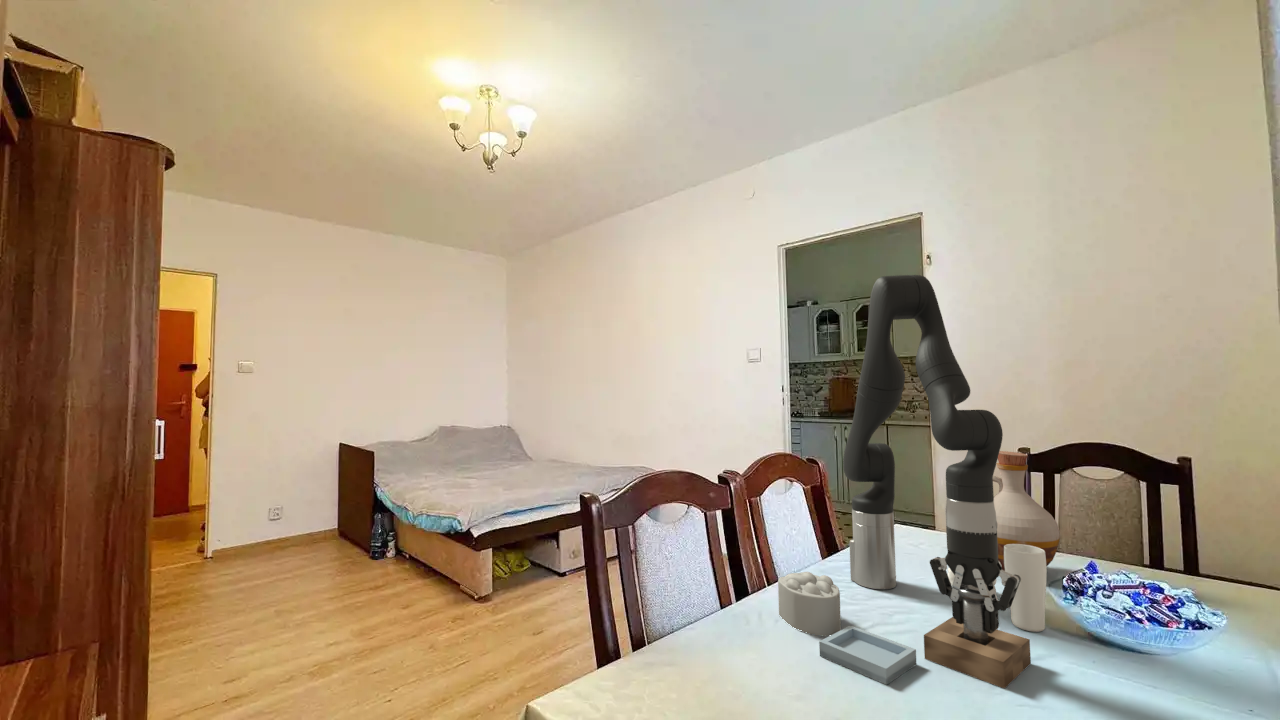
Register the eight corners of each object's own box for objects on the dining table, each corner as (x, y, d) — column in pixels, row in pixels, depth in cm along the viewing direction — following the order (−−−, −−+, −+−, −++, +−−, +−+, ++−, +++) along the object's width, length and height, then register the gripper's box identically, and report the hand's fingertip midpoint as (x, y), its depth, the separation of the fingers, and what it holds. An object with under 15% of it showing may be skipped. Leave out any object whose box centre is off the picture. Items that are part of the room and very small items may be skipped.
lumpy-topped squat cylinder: (815, 606, 115) (814, 565, 116) (855, 632, 103) (853, 586, 103) (772, 612, 113) (771, 570, 113) (807, 640, 100) (805, 592, 101)
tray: (819, 655, 94) (819, 641, 94) (850, 639, 100) (850, 625, 100) (886, 685, 85) (886, 668, 85) (916, 664, 91) (915, 649, 91)
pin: (956, 660, 92) (952, 588, 93) (967, 651, 95) (964, 582, 96) (987, 671, 88) (983, 597, 89) (998, 662, 91) (994, 590, 92)
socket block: (924, 658, 93) (923, 634, 93) (954, 638, 100) (953, 616, 100) (1004, 688, 83) (1003, 662, 83) (1030, 663, 91) (1029, 639, 91)
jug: (965, 574, 134) (959, 453, 135) (970, 555, 148) (965, 446, 150) (1065, 590, 123) (1057, 458, 124) (1059, 568, 137) (1053, 450, 139)
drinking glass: (1057, 636, 100) (1053, 554, 101) (1017, 633, 102) (1013, 552, 103) (1038, 620, 107) (1034, 544, 108) (1000, 618, 108) (997, 542, 109)
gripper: (918, 521, 96) (922, 619, 95) (1010, 537, 85) (1016, 649, 84) (937, 514, 101) (941, 608, 100) (1026, 529, 90) (1032, 635, 89)
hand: (975, 626), depth 92 cm, fingers open, 4 cm apart
